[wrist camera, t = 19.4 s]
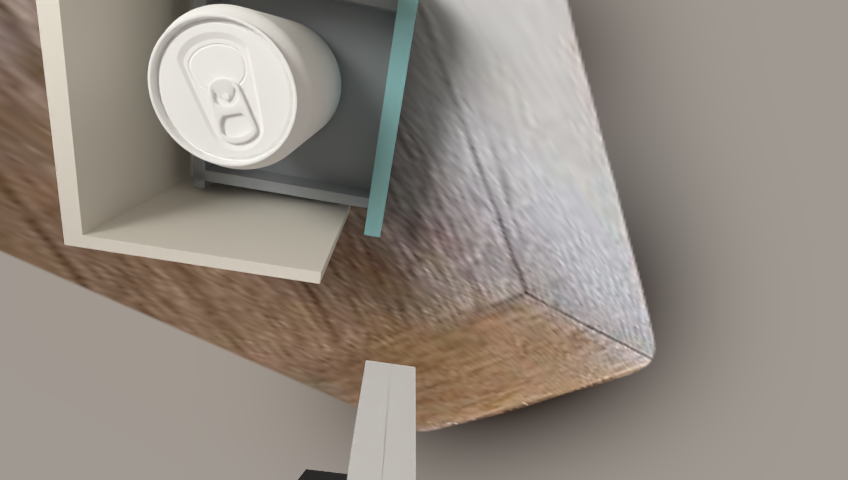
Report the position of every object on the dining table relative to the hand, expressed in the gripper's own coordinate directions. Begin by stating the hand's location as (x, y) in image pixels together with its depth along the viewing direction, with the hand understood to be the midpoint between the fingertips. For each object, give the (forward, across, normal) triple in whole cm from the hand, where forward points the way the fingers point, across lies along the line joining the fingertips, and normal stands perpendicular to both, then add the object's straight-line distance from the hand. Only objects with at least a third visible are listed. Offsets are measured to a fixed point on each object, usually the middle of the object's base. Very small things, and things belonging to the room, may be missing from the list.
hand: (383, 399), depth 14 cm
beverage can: (+24, -10, +6) cm, 27 cm away
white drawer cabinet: (+26, -11, +6) cm, 29 cm away
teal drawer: (+25, -8, +6) cm, 27 cm away
